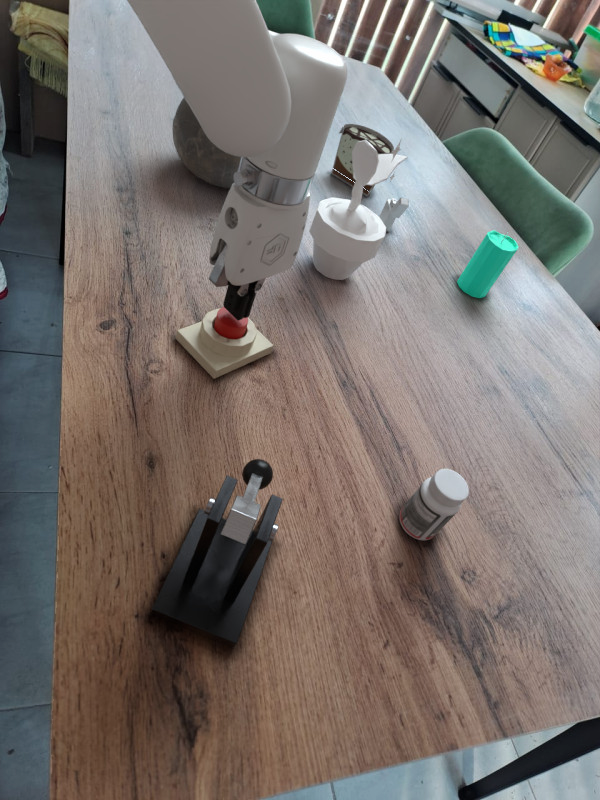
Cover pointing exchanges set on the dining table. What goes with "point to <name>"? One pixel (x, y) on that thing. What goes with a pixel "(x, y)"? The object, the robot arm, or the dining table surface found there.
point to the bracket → (216, 572)
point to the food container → (347, 144)
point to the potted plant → (352, 217)
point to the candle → (487, 264)
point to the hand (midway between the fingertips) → (235, 311)
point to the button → (229, 325)
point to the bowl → (201, 150)
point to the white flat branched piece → (393, 211)
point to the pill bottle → (433, 504)
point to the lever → (247, 501)
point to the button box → (222, 346)
